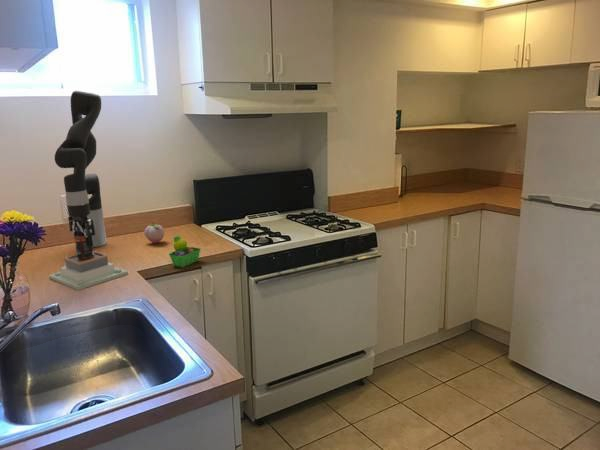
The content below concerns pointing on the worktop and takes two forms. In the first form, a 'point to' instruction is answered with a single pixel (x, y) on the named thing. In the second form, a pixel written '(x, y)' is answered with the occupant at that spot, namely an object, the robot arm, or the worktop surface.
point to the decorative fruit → (154, 233)
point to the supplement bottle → (83, 247)
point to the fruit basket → (183, 253)
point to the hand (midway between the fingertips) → (84, 244)
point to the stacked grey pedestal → (87, 271)
